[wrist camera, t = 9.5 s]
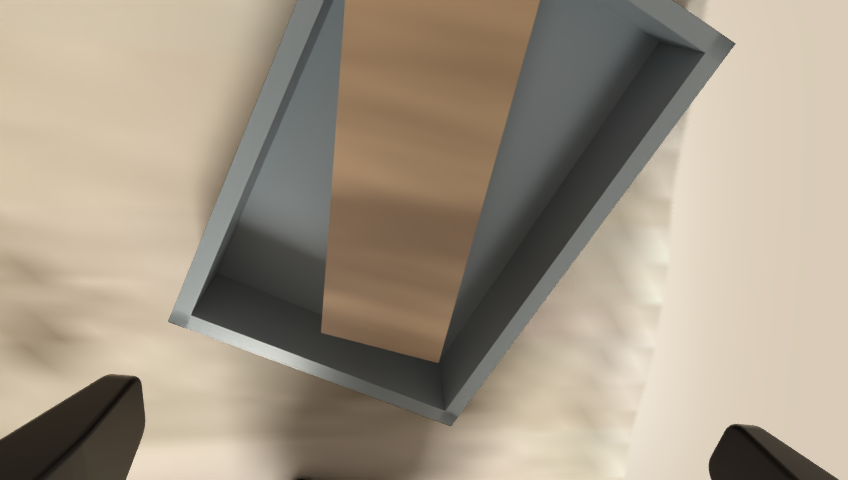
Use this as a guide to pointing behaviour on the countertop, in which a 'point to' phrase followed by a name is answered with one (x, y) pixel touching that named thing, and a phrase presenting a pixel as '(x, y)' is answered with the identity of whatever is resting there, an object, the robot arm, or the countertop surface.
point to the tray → (501, 212)
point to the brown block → (414, 160)
